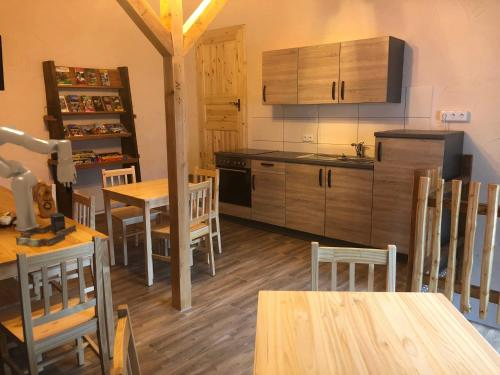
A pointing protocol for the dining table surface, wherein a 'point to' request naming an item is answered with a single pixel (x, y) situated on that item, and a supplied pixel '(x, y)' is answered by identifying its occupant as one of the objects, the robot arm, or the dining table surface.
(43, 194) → the coffee package
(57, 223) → the box
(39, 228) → the trap lane
